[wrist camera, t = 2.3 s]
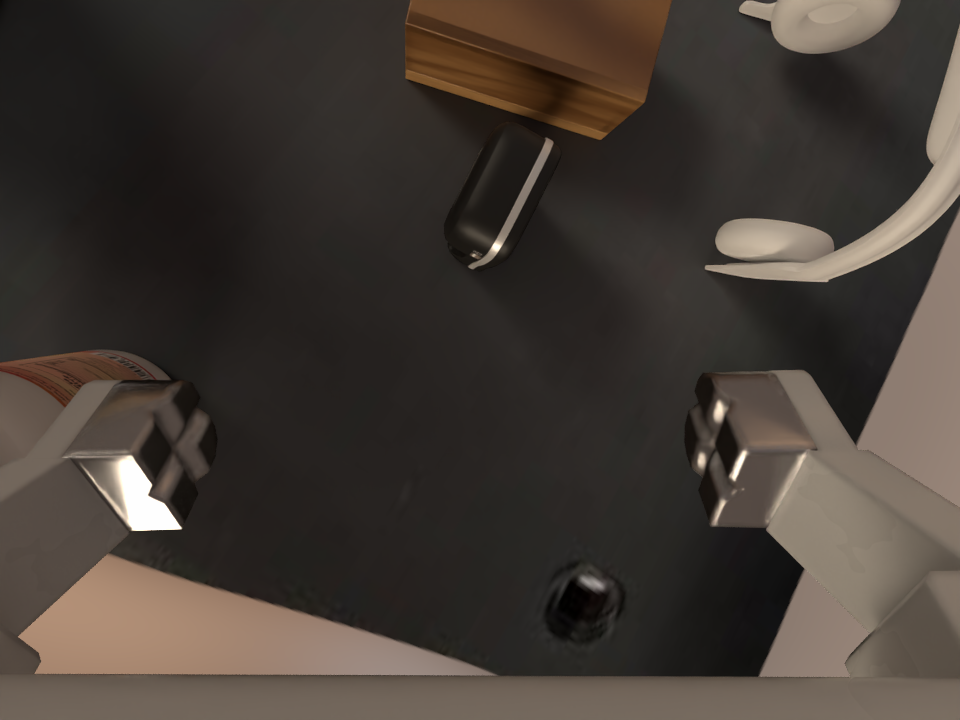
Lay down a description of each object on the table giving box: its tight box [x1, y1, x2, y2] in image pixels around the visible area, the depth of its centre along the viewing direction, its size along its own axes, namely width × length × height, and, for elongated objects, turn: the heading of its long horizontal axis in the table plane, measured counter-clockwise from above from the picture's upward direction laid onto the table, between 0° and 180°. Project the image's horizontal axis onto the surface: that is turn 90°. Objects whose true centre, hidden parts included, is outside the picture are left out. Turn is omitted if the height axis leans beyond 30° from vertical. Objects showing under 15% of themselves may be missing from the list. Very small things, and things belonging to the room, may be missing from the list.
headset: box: [705, 0, 960, 282], centre depth 32 cm, size 20×7×18 cm, turn 167°
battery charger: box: [444, 122, 561, 271], centre depth 33 cm, size 7×4×11 cm, turn 153°
